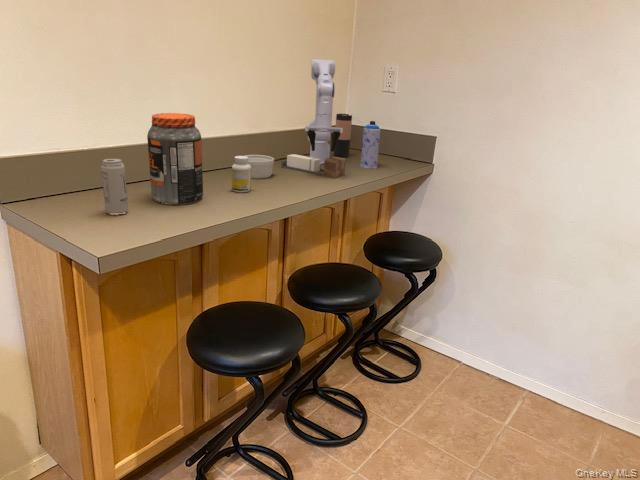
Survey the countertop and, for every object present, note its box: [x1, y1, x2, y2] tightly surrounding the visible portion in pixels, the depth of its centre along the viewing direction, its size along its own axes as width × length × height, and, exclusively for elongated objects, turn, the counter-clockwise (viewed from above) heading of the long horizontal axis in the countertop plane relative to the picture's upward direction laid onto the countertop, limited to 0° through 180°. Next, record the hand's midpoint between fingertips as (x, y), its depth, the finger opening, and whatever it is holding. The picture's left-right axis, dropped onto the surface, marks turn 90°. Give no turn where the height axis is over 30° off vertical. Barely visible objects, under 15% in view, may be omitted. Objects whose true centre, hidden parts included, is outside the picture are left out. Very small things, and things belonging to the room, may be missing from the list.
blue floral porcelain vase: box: [359, 120, 381, 170], centre depth 214 cm, size 8×8×20 cm
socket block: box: [323, 156, 347, 179], centre depth 195 cm, size 8×5×7 cm, turn 147°
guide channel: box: [280, 159, 325, 177], centre depth 203 cm, size 8×22×2 cm, turn 57°
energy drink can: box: [100, 158, 129, 213], centre depth 134 cm, size 6×6×15 cm
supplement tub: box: [146, 112, 204, 205], centre depth 149 cm, size 16×16×26 cm
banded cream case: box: [286, 153, 321, 172], centre depth 203 cm, size 5×14×5 cm, turn 57°
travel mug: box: [333, 113, 353, 159], centre depth 233 cm, size 8×8×20 cm
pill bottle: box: [231, 155, 252, 193], centre depth 165 cm, size 6×6×12 cm
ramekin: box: [245, 154, 275, 180], centre depth 188 cm, size 13×13×7 cm
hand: (322, 151), depth 188 cm, fingers open, 7 cm apart
